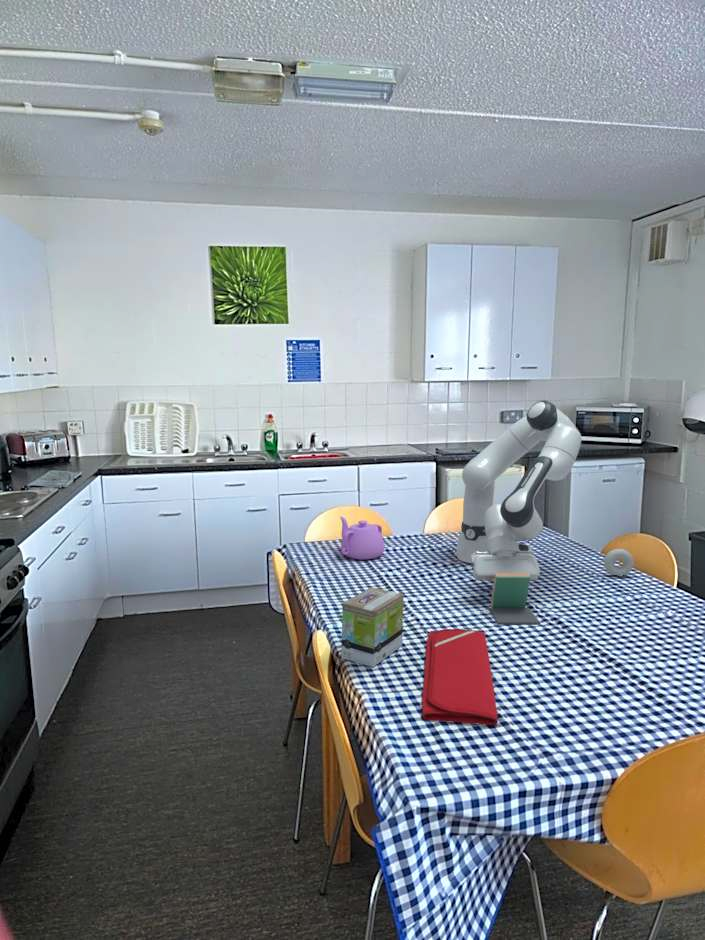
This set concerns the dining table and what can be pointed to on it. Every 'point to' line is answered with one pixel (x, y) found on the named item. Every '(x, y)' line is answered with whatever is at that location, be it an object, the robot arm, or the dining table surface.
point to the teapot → (362, 540)
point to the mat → (514, 616)
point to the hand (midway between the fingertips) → (509, 591)
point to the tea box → (372, 626)
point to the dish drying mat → (458, 678)
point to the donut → (616, 554)
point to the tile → (510, 590)
